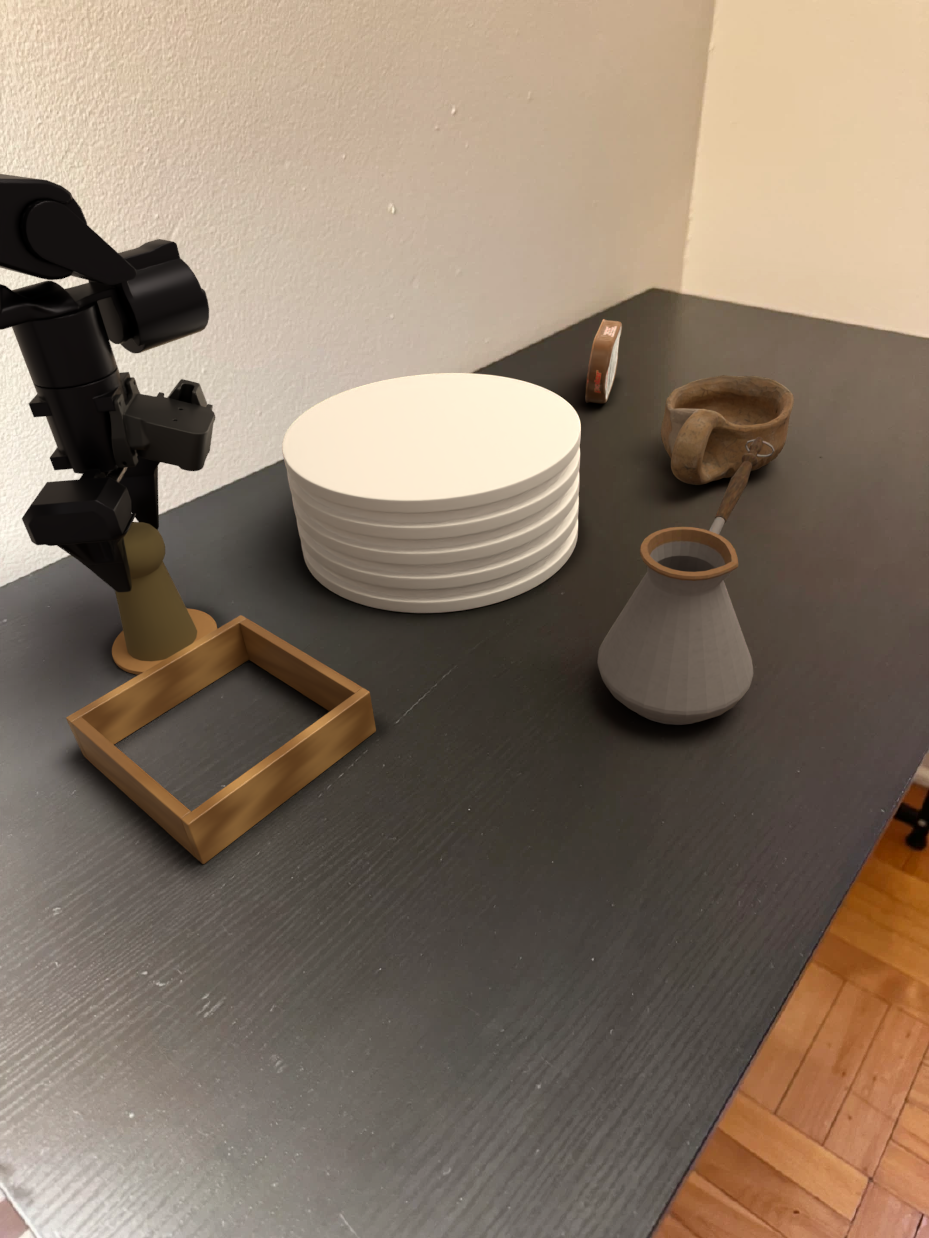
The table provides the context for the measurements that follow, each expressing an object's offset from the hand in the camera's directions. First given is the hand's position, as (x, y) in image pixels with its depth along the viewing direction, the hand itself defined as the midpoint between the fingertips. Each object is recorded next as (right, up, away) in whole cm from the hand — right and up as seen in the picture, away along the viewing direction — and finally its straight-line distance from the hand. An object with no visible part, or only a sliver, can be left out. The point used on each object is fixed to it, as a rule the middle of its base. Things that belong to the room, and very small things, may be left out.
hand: (139, 559), depth 69 cm
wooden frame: (+9, -14, -6) cm, 18 cm away
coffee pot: (+45, -8, 0) cm, 46 cm away
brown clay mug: (+55, +11, +25) cm, 61 cm away
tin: (+45, +26, +44) cm, 68 cm away
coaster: (0, -7, +5) cm, 9 cm away
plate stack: (+24, +4, +17) cm, 30 cm away
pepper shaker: (0, -7, +5) cm, 8 cm away
